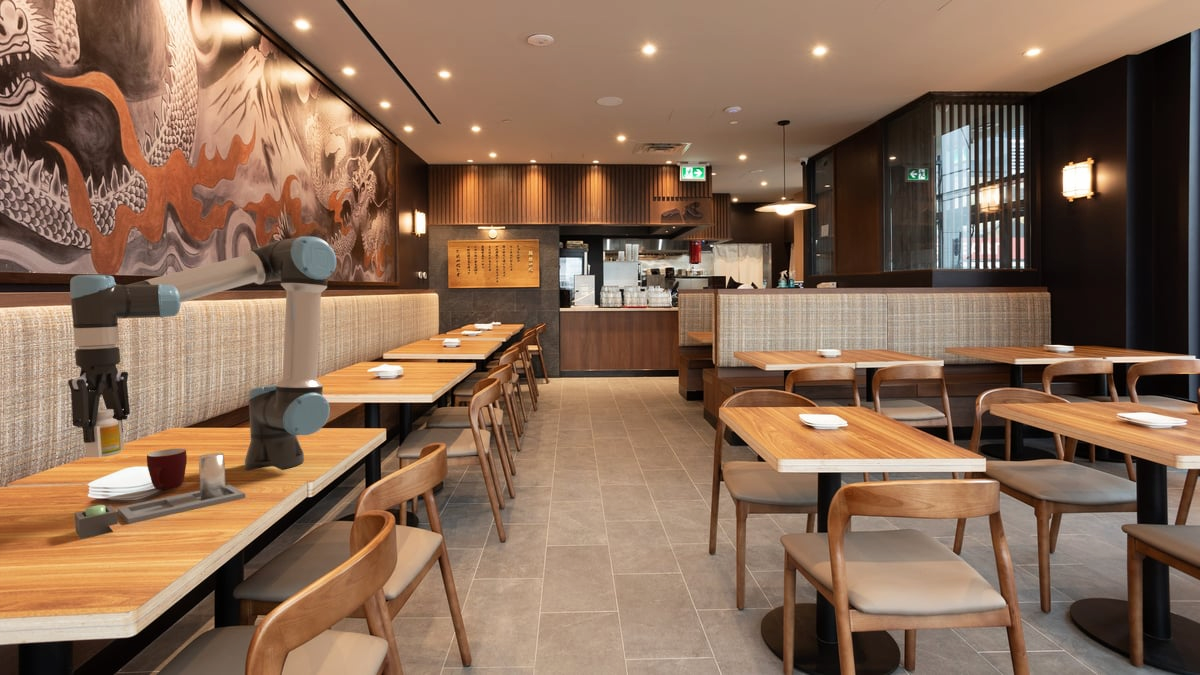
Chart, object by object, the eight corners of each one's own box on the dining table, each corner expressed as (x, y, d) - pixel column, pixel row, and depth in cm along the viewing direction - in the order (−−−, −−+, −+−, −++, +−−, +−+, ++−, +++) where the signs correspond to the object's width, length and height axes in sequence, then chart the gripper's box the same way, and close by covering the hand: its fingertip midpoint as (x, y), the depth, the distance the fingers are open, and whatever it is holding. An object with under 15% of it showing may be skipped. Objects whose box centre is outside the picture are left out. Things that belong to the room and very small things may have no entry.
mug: (179, 498, 150) (177, 457, 149) (139, 501, 147) (137, 460, 146) (192, 485, 160) (190, 447, 159) (155, 489, 157) (153, 450, 156)
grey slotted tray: (229, 494, 152) (229, 484, 152) (245, 503, 144) (245, 493, 144) (117, 518, 136) (117, 507, 136) (129, 530, 128) (128, 519, 128)
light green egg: (104, 522, 131) (103, 503, 130) (107, 526, 128) (106, 507, 128) (85, 526, 128) (84, 507, 128) (88, 530, 126) (86, 511, 126)
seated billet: (222, 493, 148) (220, 451, 147) (229, 497, 145) (226, 455, 144) (197, 498, 144) (195, 456, 144) (204, 503, 141) (202, 459, 140)
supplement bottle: (126, 452, 137) (123, 408, 136) (99, 458, 132) (96, 413, 131) (110, 450, 139) (107, 407, 138) (83, 456, 134) (79, 412, 133)
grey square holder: (112, 523, 133) (110, 505, 132) (118, 530, 129) (116, 511, 128) (75, 531, 128) (74, 512, 128) (80, 539, 124) (79, 519, 124)
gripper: (112, 344, 143) (119, 443, 144) (41, 351, 124) (51, 465, 126) (145, 343, 143) (152, 442, 145) (79, 350, 125) (88, 464, 126)
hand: (105, 452), depth 135 cm, fingers closed on supplement bottle, 5 cm apart
